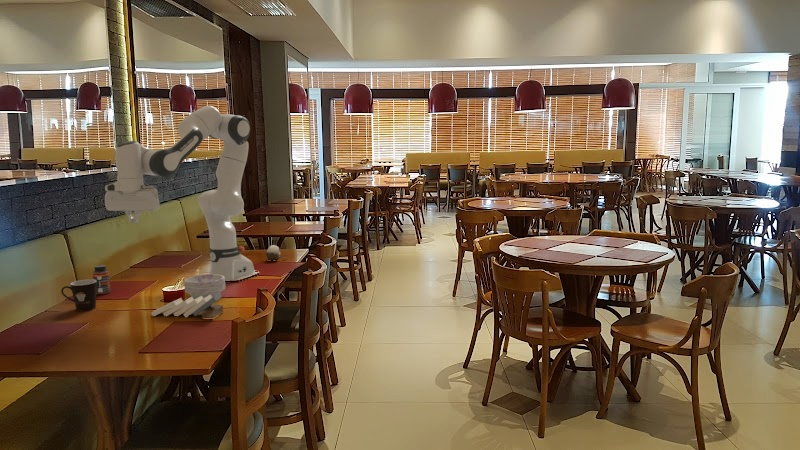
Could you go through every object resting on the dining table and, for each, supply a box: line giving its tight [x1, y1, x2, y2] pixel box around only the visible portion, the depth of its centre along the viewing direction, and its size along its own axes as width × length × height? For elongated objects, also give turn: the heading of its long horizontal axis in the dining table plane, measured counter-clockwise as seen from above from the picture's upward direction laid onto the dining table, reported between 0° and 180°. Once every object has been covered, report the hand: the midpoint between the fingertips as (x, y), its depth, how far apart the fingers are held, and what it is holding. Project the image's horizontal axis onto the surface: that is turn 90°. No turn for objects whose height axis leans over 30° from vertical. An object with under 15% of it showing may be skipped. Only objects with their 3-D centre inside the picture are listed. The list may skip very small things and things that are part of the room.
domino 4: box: [182, 295, 213, 318], centre depth 211 cm, size 2×5×10 cm
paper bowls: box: [183, 273, 226, 300], centre depth 234 cm, size 15×15×8 cm
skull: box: [265, 244, 287, 261], centre depth 302 cm, size 12×10×10 cm
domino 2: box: [162, 296, 195, 317], centre depth 212 cm, size 2×5×10 cm
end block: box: [201, 304, 224, 319], centre depth 210 cm, size 4×8×3 cm, turn 171°
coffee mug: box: [61, 279, 97, 312], centre depth 222 cm, size 12×9×10 cm
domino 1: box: [150, 297, 184, 317], centre depth 213 cm, size 2×5×10 cm
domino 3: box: [173, 296, 204, 317], centre depth 212 cm, size 2×5×10 cm
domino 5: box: [192, 293, 223, 317], centre depth 210 cm, size 2×5×10 cm
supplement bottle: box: [92, 264, 111, 296], centre depth 243 cm, size 6×6×11 cm
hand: (134, 222), depth 223 cm, fingers closed
